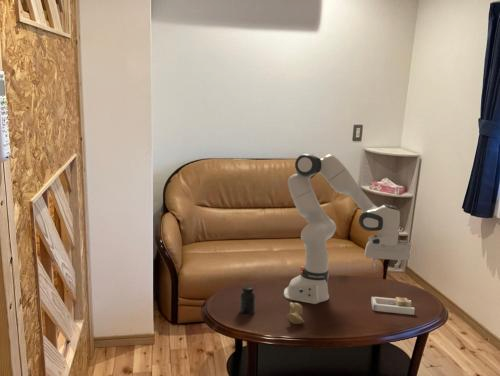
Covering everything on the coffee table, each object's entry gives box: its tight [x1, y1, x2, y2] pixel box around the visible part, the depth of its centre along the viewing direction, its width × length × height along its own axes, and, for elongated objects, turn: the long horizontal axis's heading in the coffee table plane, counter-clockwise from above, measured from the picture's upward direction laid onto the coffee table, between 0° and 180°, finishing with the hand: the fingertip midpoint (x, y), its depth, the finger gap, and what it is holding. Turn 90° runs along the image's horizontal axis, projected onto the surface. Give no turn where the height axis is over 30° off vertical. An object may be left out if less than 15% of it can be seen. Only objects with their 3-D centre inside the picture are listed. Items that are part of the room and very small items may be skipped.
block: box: [395, 296, 409, 307], centre depth 218 cm, size 5×5×5 cm
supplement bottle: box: [239, 284, 256, 316], centre depth 208 cm, size 7×7×12 cm
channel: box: [370, 295, 416, 316], centre depth 219 cm, size 18×10×3 cm, turn 81°
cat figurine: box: [286, 301, 306, 325], centre depth 203 cm, size 8×7×12 cm
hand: (386, 267), depth 216 cm, fingers open, 8 cm apart
